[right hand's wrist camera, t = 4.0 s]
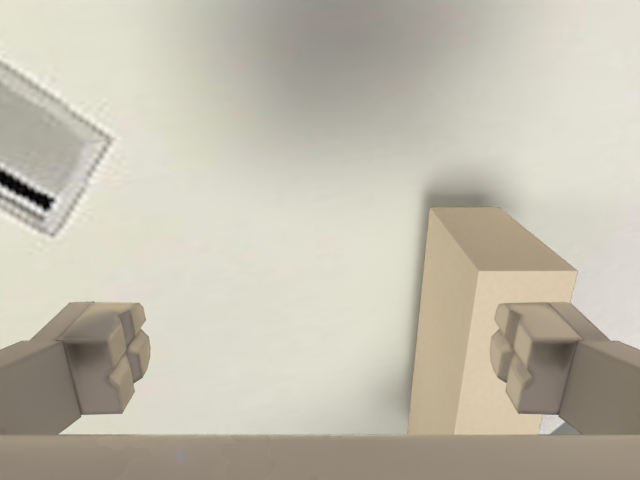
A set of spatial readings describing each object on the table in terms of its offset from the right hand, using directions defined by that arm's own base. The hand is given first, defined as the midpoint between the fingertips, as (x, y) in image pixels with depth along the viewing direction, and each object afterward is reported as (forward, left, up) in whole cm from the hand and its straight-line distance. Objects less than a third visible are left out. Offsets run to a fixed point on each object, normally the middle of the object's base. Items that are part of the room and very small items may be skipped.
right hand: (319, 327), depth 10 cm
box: (+18, +12, -26) cm, 34 cm away
